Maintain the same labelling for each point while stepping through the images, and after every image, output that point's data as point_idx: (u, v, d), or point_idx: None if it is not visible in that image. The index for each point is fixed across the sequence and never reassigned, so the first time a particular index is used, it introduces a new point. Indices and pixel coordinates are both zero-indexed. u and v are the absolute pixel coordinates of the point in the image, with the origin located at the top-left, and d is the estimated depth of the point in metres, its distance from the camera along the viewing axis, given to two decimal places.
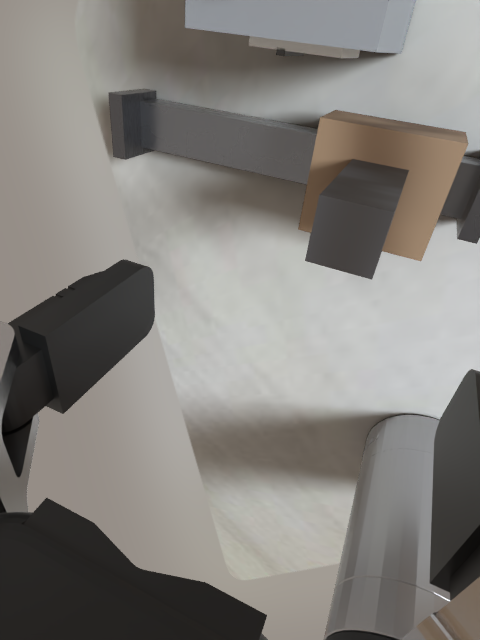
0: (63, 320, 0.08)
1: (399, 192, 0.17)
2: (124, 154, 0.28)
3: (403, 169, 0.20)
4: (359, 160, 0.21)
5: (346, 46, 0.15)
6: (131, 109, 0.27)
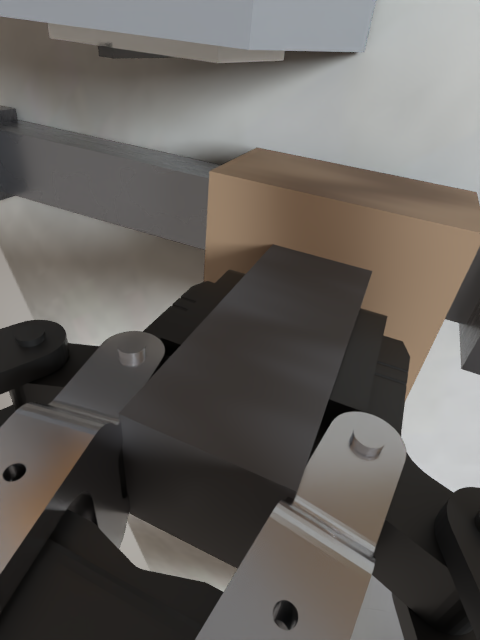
0: None
1: (335, 367, 0.07)
2: None
3: (361, 270, 0.11)
4: (283, 248, 0.11)
5: (176, 35, 0.06)
6: None
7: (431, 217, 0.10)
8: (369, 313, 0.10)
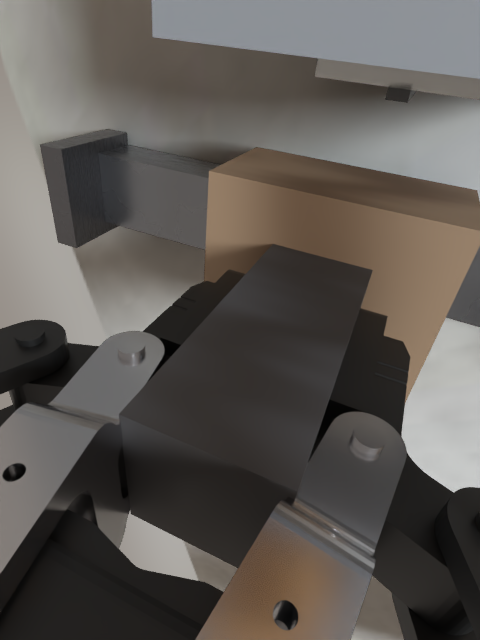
0: None
1: (335, 367, 0.07)
2: (74, 240, 0.17)
3: (362, 269, 0.11)
4: (283, 248, 0.11)
5: None
6: (82, 168, 0.16)
7: (431, 216, 0.10)
8: (369, 313, 0.10)
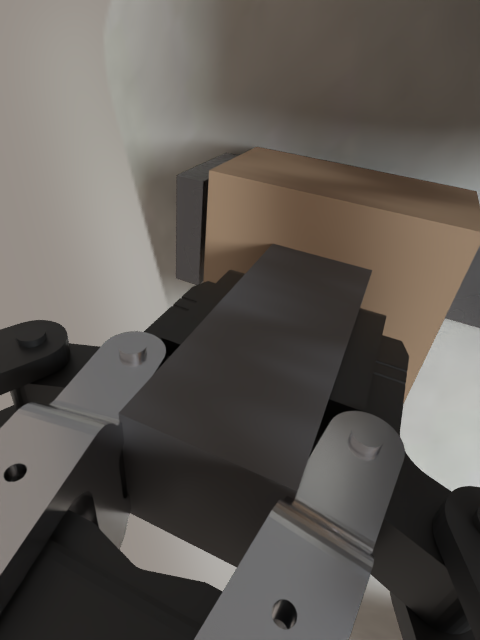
0: None
1: (335, 367, 0.07)
2: (197, 277, 0.16)
3: (361, 269, 0.11)
4: (283, 248, 0.11)
5: None
6: None
7: (431, 216, 0.10)
8: (368, 313, 0.10)
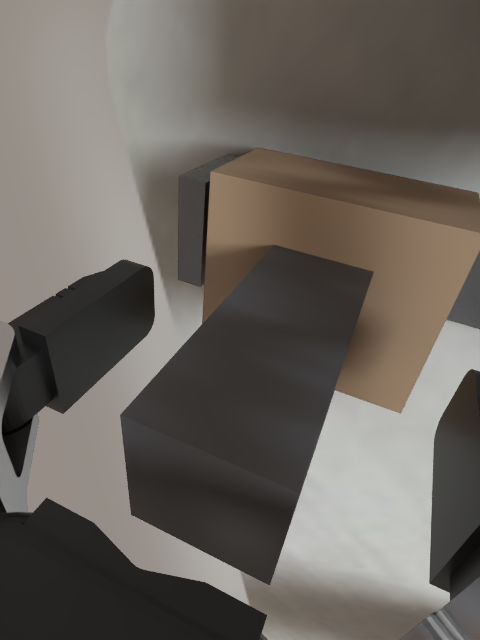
0: (63, 320, 0.08)
1: (337, 368, 0.07)
2: (199, 278, 0.16)
3: (363, 270, 0.11)
4: (284, 249, 0.11)
5: None
6: None
7: (433, 218, 0.10)
8: None
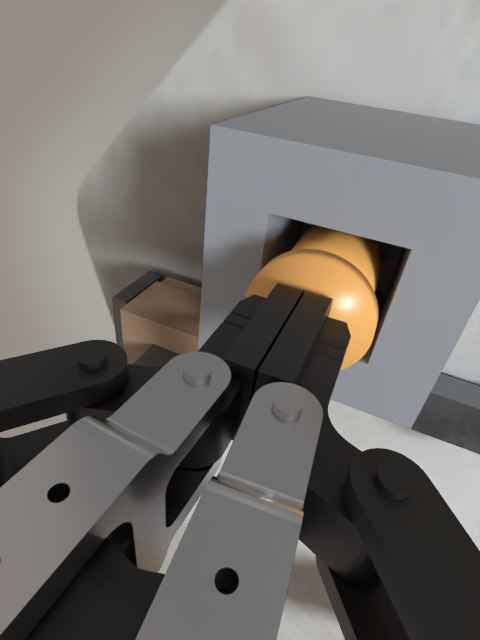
0: (261, 351, 0.08)
1: None
2: None
3: None
4: (157, 347, 0.23)
5: (377, 415, 0.14)
6: None
7: None
8: (315, 296, 0.10)
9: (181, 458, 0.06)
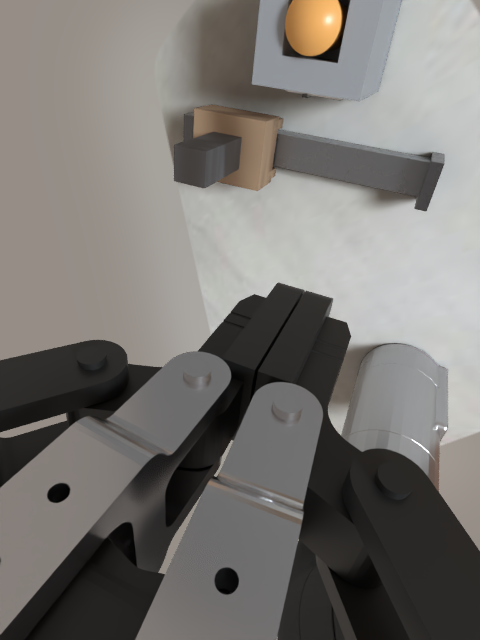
0: (262, 351, 0.08)
1: (220, 145, 0.33)
2: None
3: (238, 136, 0.36)
4: (216, 132, 0.37)
5: (343, 97, 0.28)
6: None
7: (255, 119, 0.35)
8: (314, 296, 0.10)
9: (181, 458, 0.06)
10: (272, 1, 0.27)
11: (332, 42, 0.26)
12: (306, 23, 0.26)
